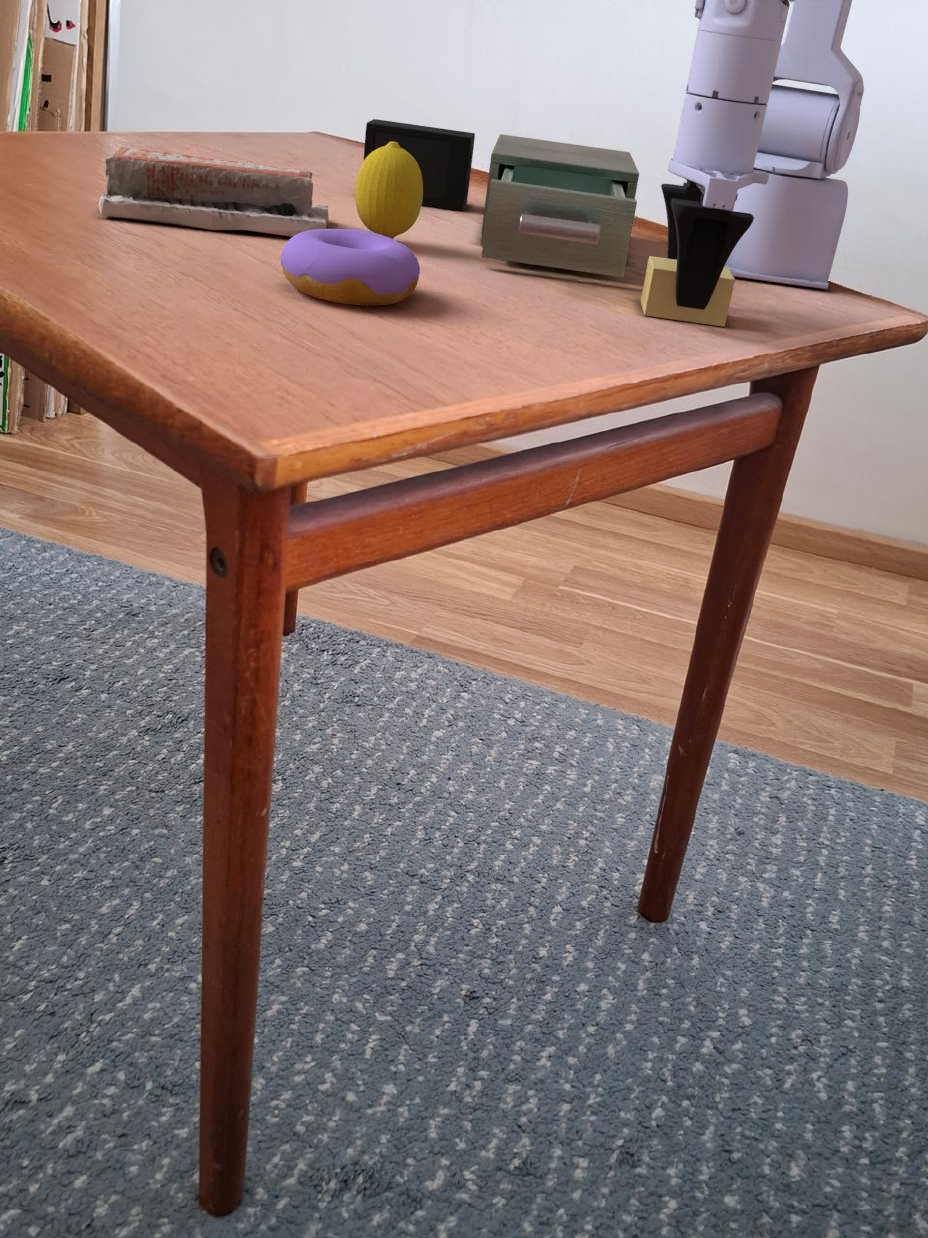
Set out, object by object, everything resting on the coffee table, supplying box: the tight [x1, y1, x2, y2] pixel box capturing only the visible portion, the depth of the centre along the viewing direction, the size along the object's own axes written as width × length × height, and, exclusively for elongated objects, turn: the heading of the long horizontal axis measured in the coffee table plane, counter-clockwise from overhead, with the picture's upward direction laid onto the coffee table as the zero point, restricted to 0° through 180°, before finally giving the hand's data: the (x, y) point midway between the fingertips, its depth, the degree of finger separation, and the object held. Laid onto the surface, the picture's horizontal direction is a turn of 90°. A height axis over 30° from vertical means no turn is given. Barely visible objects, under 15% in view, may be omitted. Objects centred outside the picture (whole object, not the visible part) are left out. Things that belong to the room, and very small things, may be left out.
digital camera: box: [363, 118, 476, 212], centre depth 119 cm, size 10×5×7 cm, turn 84°
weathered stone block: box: [97, 146, 329, 238], centre depth 99 cm, size 18×5×10 cm
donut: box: [280, 228, 421, 306], centre depth 82 cm, size 10×9×5 cm
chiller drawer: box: [480, 165, 638, 278], centre depth 98 cm, size 19×11×6 cm, turn 176°
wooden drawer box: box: [479, 133, 640, 246], centre depth 109 cm, size 16×13×8 cm
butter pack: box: [640, 255, 736, 328], centre depth 89 cm, size 6×4×4 cm
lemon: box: [354, 142, 423, 239], centre depth 98 cm, size 6×6×8 cm
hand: (685, 295), depth 89 cm, fingers open, 7 cm apart
